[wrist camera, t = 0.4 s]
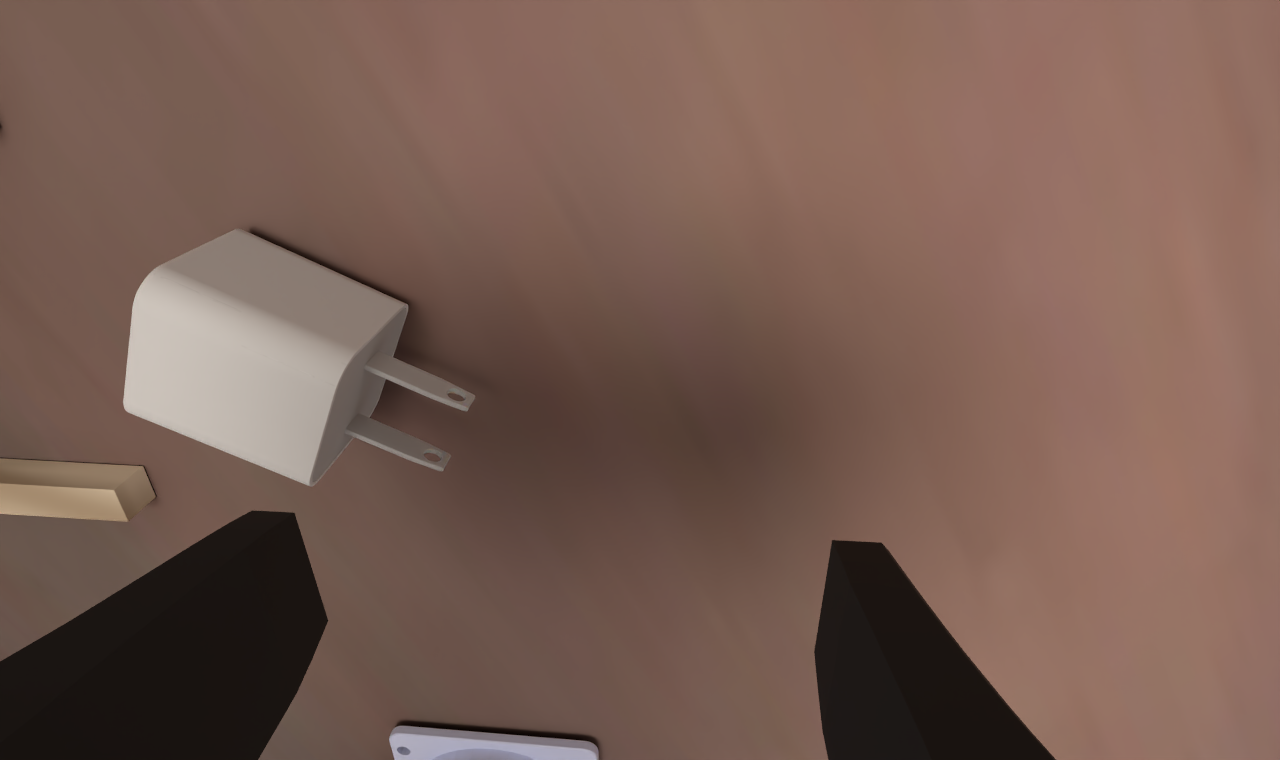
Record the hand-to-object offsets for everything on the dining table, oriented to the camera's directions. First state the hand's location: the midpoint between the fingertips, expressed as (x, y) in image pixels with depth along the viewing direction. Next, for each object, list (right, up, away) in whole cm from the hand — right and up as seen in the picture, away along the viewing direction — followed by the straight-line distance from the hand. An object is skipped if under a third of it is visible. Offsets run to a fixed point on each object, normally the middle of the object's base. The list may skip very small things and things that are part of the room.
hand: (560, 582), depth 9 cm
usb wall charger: (-6, +4, +10) cm, 12 cm away
